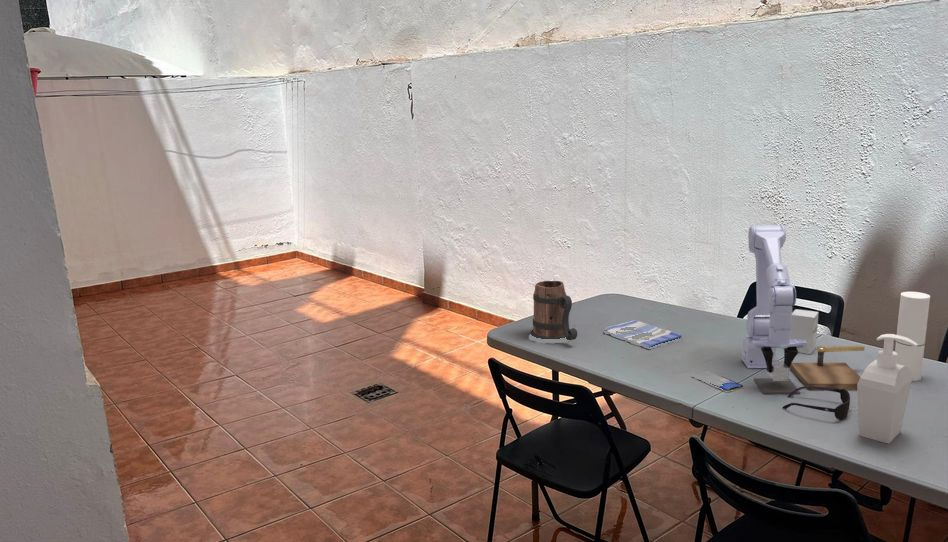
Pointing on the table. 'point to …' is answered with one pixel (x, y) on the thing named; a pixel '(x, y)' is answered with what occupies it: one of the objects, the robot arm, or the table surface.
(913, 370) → the cylindrical container
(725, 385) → the smartphone
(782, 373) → the grey block
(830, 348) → the lever
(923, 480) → the table surface
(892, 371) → the soap bottle
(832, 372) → the wooden base
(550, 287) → the tankard
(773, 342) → the robot arm
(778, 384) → the rubber mat
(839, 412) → the sunglasses
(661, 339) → the dish towel
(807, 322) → the supplement box
